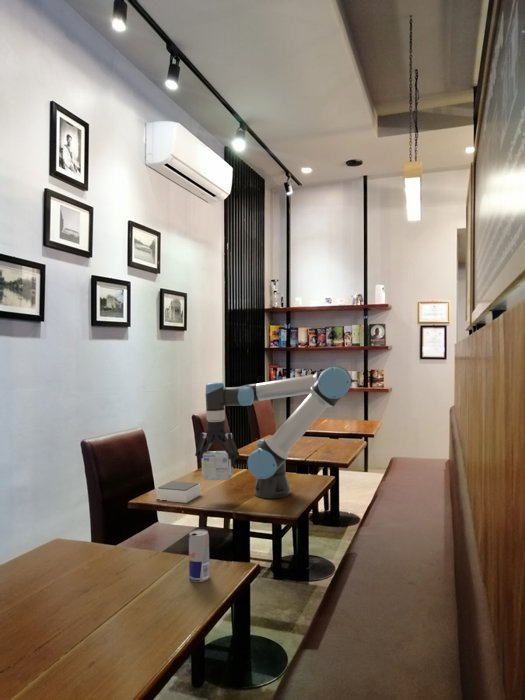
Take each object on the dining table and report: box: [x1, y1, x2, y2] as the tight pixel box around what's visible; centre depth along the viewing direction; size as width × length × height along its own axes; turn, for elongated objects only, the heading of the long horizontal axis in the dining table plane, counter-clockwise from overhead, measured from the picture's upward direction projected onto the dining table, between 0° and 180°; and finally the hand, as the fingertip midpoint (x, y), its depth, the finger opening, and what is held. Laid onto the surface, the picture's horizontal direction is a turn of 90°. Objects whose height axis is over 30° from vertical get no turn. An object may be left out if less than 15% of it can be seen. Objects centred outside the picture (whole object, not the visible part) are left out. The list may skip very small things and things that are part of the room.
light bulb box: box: [203, 450, 233, 481], centre depth 204 cm, size 11×7×11 cm, turn 84°
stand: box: [155, 480, 201, 503], centre depth 210 cm, size 14×12×5 cm
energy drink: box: [188, 528, 211, 583], centre depth 132 cm, size 5×5×12 cm
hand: (217, 474), depth 204 cm, fingers closed on light bulb box, 11 cm apart
